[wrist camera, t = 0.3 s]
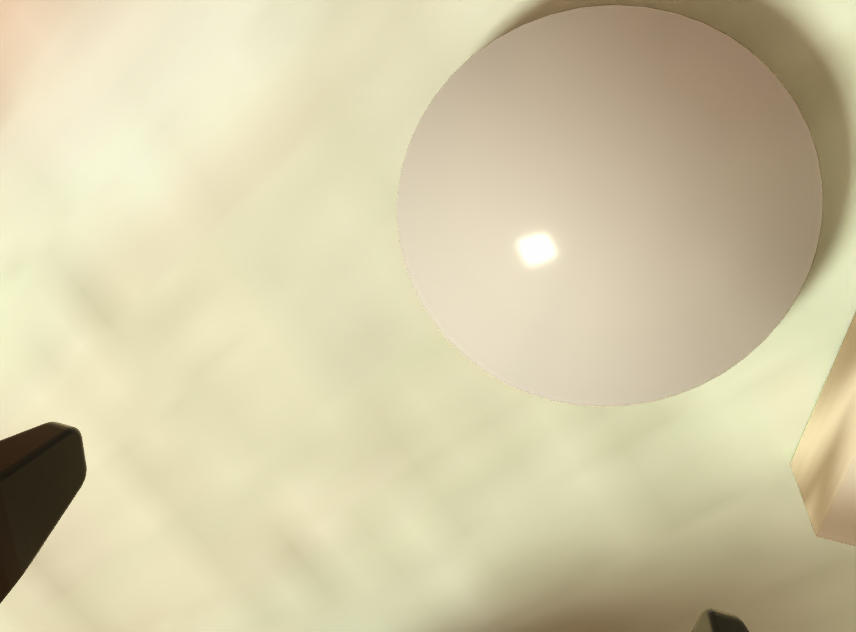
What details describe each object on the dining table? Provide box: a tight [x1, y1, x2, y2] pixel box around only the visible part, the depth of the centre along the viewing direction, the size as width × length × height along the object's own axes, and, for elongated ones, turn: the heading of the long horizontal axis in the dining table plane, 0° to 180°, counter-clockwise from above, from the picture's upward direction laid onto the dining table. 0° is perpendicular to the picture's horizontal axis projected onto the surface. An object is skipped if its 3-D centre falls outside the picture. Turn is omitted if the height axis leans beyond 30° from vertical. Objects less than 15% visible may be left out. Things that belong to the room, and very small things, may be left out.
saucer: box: [397, 5, 823, 407], centre depth 21 cm, size 12×12×1 cm
